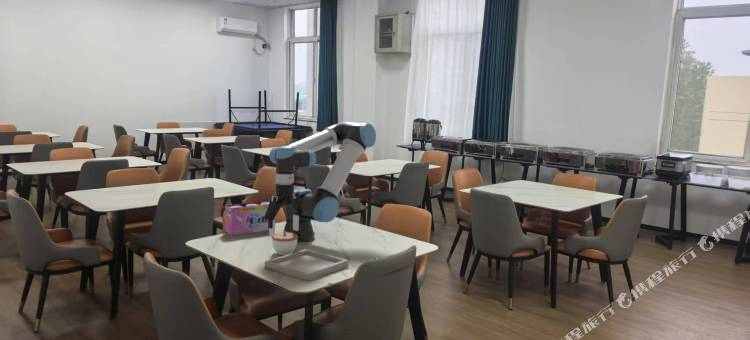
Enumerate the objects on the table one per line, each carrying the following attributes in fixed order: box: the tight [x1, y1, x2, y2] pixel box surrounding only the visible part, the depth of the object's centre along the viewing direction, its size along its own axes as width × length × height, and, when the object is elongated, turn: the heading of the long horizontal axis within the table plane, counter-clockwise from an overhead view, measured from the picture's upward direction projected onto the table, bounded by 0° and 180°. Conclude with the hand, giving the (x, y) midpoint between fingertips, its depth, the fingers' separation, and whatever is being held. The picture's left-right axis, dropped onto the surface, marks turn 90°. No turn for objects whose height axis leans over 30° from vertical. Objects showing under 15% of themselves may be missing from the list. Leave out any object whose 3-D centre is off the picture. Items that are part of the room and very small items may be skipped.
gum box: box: [225, 200, 276, 236], centre depth 259 cm, size 24×8×14 cm, turn 127°
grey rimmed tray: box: [264, 248, 349, 282], centre depth 207 cm, size 23×23×2 cm
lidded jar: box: [271, 231, 298, 256], centre depth 224 cm, size 11×11×9 cm
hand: (284, 232), depth 223 cm, fingers open, 13 cm apart
